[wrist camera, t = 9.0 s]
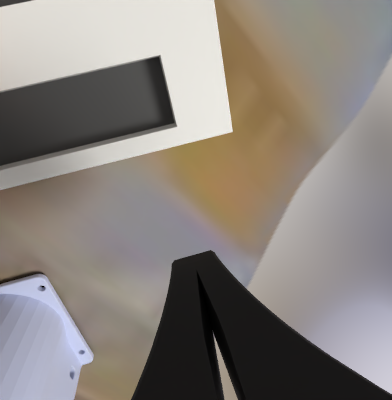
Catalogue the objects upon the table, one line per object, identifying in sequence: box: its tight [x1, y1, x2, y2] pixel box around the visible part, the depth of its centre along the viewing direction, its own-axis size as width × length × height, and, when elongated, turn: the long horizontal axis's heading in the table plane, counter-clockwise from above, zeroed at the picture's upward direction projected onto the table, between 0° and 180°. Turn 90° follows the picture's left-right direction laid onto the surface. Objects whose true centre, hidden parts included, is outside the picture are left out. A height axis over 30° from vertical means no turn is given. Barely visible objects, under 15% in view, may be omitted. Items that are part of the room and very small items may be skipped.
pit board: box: [0, 0, 233, 190], centre depth 13 cm, size 12×16×2 cm
